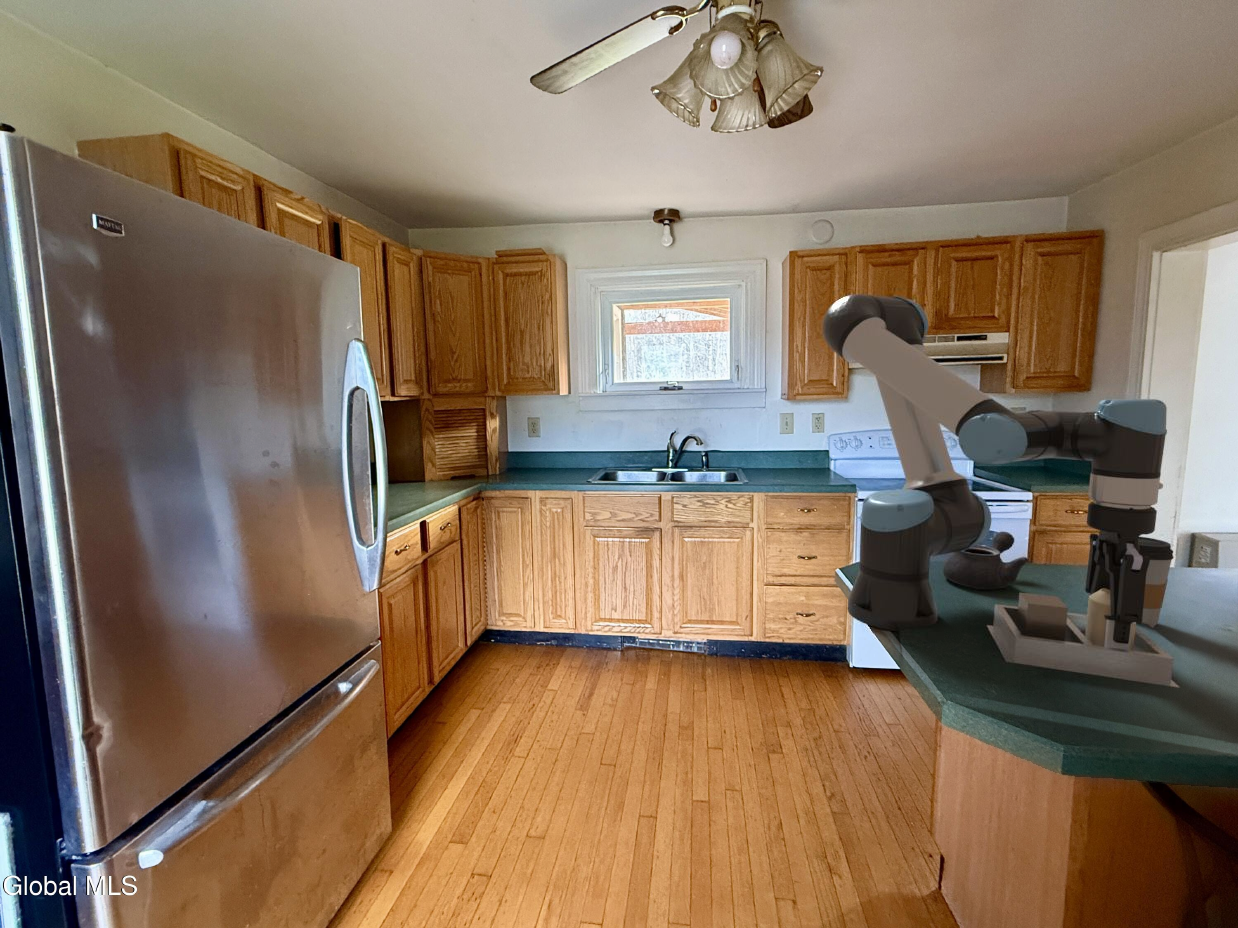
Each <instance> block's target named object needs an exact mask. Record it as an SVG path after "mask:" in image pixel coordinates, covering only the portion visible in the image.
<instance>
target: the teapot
mask: <svg viewBox="0 0 1238 928" xmlns="http://www.w3.org/2000/svg"><path fill="white" fill-rule="evenodd" d="M1014 543H1015V537H1014V536H1013V534H1011V533H1010V532H1008V531H999V532H997V533H996V534H995V535H994V537H993V539H992V547H989V546H985V545H981V544H980V545H979V544H978V545H976V546H974V547H971V548H968V549H967V550H964V551H961V552H955V553H951V555H950V556H949V557H948V559H947V560H946V561H945V563H944V564H943V569H942V573H943V576H944V577H945V579H948V580H949V581H951V582H953V583H955V584H958V585H961V586H964V587H968V588H972V589H978V590H996V589H1001V588H1003V589H1004V588H1005V587H1006V588H1007V586H1010V585H1012V584H1014V583H1015V582H1016V581H1017V577H1018V576H1019V573H1020V571H1021V569H1022V568H1023V566H1025V565H1027V564H1029V563H1030V560H1029V559H1028V558H1027V557H1026V556H1021V557H1018V558H1014V559H1012V560H1011V561H1007V562H1004V561H1003V559H1002V558H1001V554H1002V553H1004V552H1005V551H1008V550H1010V549H1011V548H1012V547H1013V545H1014Z"/></svg>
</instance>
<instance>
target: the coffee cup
mask: <svg viewBox="0 0 1238 928" xmlns="http://www.w3.org/2000/svg"><path fill="white" fill-rule="evenodd" d="M1138 539H1139V546H1140V552H1141V554H1140V555H1143V556H1149V559H1150V562H1149V566H1148V569H1147V572H1146V583H1145V594H1144V606H1143V617H1142V623H1141V624H1146V625H1147V626H1149V627H1151V629H1153V628H1154V627H1155V626H1156V625H1158V623H1159V619H1160V615H1161V609H1162V607H1163V605H1164V603H1163V602H1164V599H1165V594H1166V589H1167V585H1168V577H1169V573H1170V569H1171V562H1172V560H1173V559H1174V550H1173V549H1172V547H1171V543H1169V542H1167V541H1165V540H1161V539H1156V538H1153V537H1146V536H1139V537H1138Z"/></svg>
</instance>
